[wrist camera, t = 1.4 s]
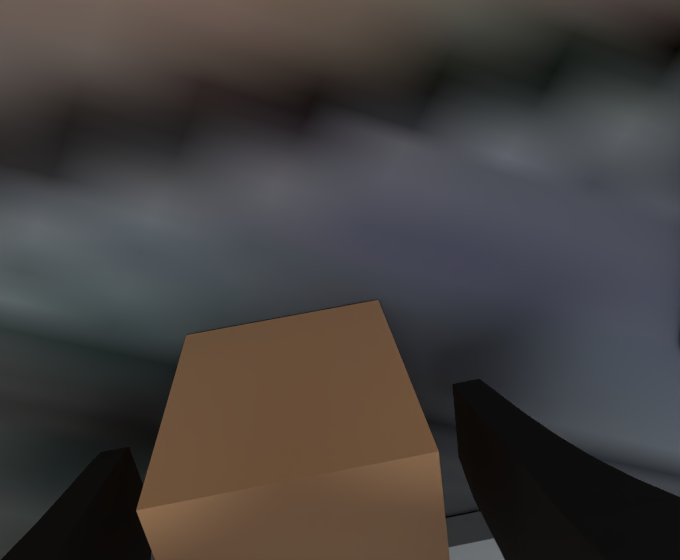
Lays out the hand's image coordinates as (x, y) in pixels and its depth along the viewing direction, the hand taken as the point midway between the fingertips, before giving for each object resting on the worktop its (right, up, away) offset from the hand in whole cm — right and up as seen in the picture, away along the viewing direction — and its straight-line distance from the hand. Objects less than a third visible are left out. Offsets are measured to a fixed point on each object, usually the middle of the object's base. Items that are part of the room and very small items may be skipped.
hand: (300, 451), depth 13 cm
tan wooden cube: (0, +1, +2) cm, 2 cm away
